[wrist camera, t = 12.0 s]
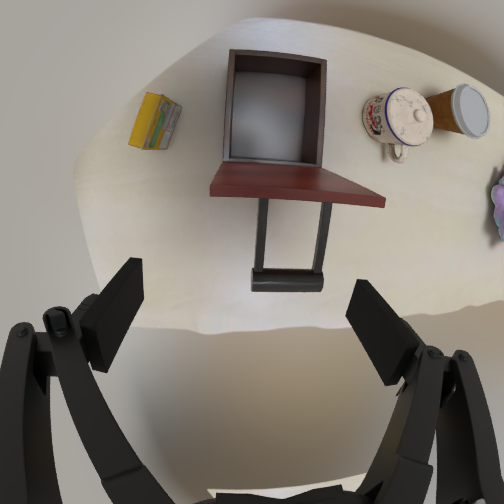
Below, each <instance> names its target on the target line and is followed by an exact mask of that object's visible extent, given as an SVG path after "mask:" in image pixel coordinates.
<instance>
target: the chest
mask: <svg viewBox="0 0 504 504" xmlns="http://www.w3.org/2000/svg"><path fill="white" fill-rule="evenodd" d="M326 76H327V60H324V59H320V58H314V57H308V56H302V55H295V54H288V53H279V52H269V51H257V50H238V49H236V50H234V49H230V51H229V63H228V76H227V91H226V106H225V124H224V143H223V161H230V162H254V163H271V164H285V165H297V166H308V167H317V168H321V167H322V155H323V141H324V125H325V105H326Z"/></svg>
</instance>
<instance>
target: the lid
mask: <svg viewBox="0 0 504 504" xmlns="http://www.w3.org/2000/svg"><path fill="white" fill-rule="evenodd" d="M210 196H214V197H246V198H259V199H258V214H257V230H256V245H255V260H254V268H252V270H251V291H252V292H321V291H322V288H323V284H324V277H323V272H322V266H323V260H324V255H325V249H326V243H327V237H328V230H329V224H330V217H331V210H332V203H339V204H350V205H360V206H370V207H379V208H384V207H385V201H386V198H385V197H383V196H381V195H379V194H377V193H375V192H373V191H371V190H369V189H367V188H365V187H363V186H361V185H359V184H357V183H354V182H352V181H350V180H348V179H346V178H344V177H341V176H339V175H337V174H335V173H333V172H330V171H328V170H326V169H323V168H317V167H308V166H297V165H285V164H271V163H254V162H230V161H223V162H222V164H221V165H220V167H219V169H218V171H217V173H216V175H215V177H214V179H213V180H212V182H211V184H210ZM269 199H286V200H301V201H315V202H322V205H321V212H320V220H319V227H318V234H317V241H316V247H315V253H314V260H313V266H312V269H281V268H263V265H264V252H265V240H266V227H267V215H268V202H269Z"/></svg>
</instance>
